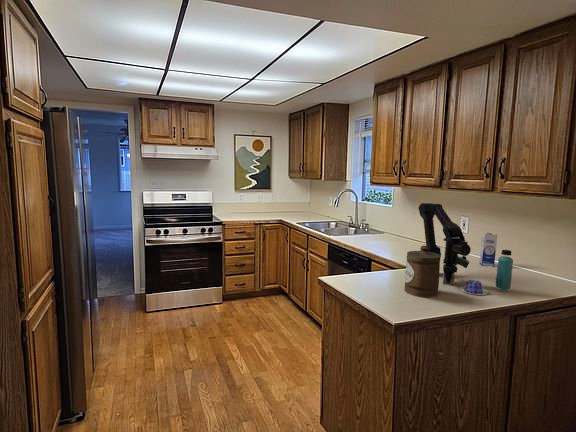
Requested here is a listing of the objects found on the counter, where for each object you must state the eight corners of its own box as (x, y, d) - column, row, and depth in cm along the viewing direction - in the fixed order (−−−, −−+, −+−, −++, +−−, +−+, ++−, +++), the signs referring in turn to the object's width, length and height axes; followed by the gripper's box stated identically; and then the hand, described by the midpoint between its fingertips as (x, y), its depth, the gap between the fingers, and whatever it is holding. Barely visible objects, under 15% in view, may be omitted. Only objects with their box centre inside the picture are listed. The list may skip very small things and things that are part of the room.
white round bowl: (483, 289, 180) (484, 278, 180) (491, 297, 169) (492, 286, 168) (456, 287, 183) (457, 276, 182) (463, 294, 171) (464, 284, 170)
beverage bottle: (512, 290, 178) (516, 250, 175) (507, 293, 173) (512, 252, 171) (497, 287, 183) (501, 248, 180) (492, 290, 178) (497, 249, 175)
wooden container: (405, 285, 182) (408, 241, 179) (437, 289, 177) (441, 244, 174) (403, 294, 168) (406, 247, 166) (438, 299, 163) (442, 250, 160)
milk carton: (481, 265, 224) (484, 233, 222) (479, 263, 231) (482, 231, 228) (494, 267, 222) (497, 234, 220) (491, 264, 229) (495, 232, 226)
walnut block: (443, 283, 186) (443, 274, 185) (443, 281, 191) (443, 271, 190) (453, 285, 184) (454, 275, 183) (453, 282, 189) (454, 273, 188)
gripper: (470, 257, 173) (467, 289, 176) (467, 249, 191) (465, 278, 193) (444, 254, 178) (441, 285, 180) (444, 247, 195) (442, 275, 197)
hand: (448, 281), depth 187 cm, fingers closed on walnut block, 5 cm apart
